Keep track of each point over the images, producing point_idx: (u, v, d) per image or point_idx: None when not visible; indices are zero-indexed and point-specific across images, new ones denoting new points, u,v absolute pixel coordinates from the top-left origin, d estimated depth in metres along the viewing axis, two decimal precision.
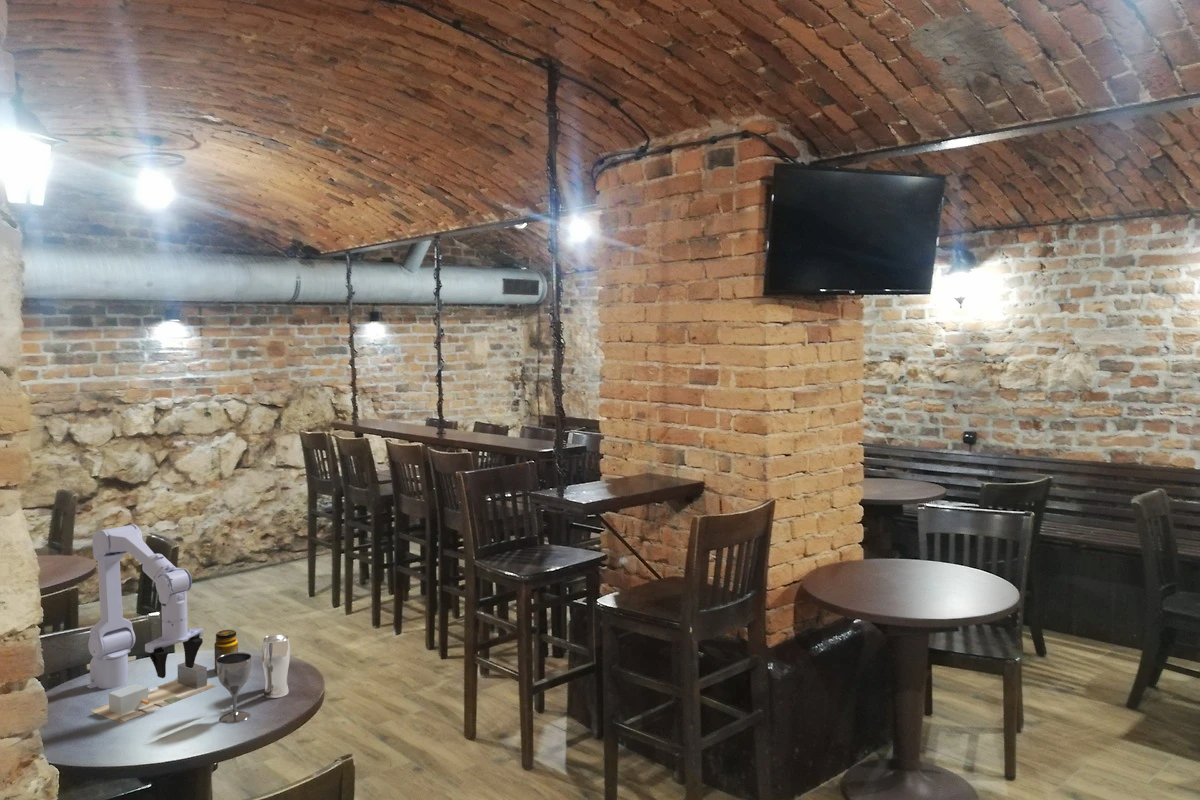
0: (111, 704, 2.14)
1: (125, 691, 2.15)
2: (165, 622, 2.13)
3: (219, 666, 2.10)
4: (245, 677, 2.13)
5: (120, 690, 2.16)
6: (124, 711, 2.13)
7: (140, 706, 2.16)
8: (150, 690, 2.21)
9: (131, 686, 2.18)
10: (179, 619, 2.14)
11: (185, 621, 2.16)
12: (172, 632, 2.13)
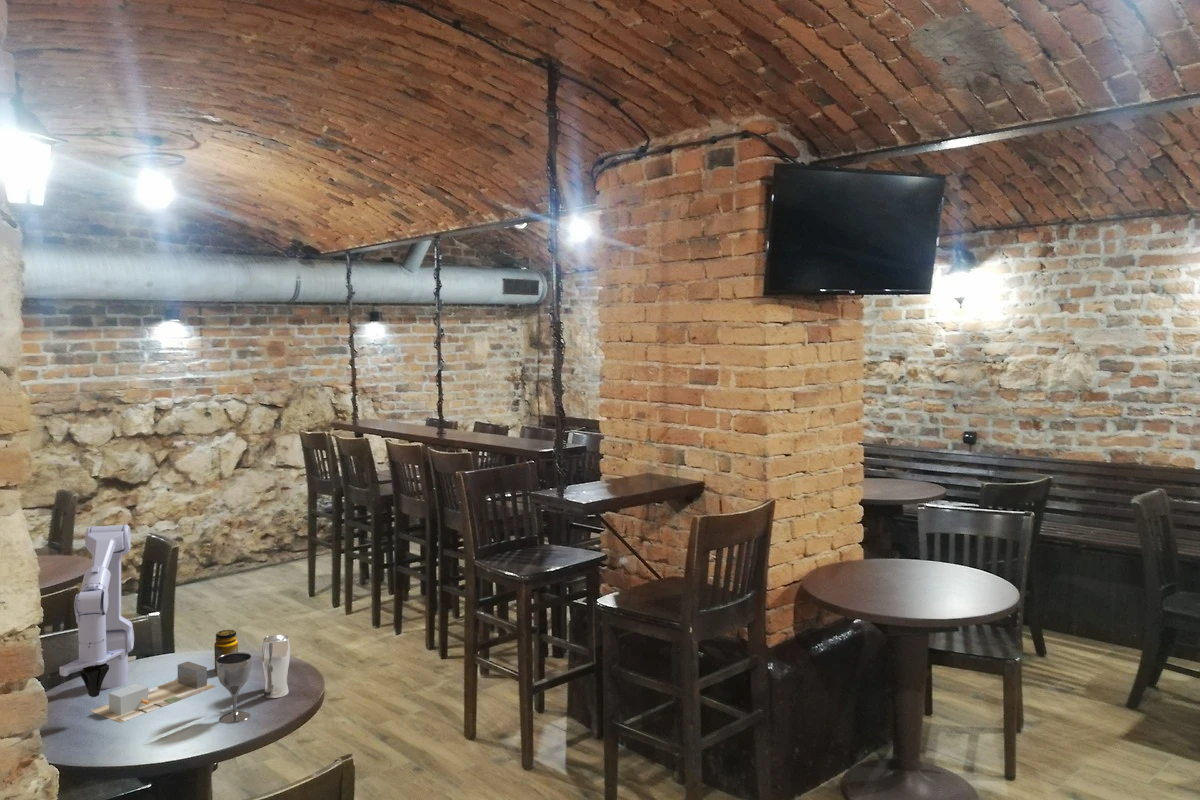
0: (111, 704, 2.14)
1: (125, 691, 2.15)
2: (81, 644, 2.05)
3: (219, 666, 2.10)
4: (245, 677, 2.13)
5: (120, 690, 2.16)
6: (124, 711, 2.13)
7: (140, 706, 2.16)
8: (150, 690, 2.21)
9: (131, 686, 2.18)
10: (87, 642, 2.05)
11: (103, 643, 2.08)
12: (89, 655, 2.05)
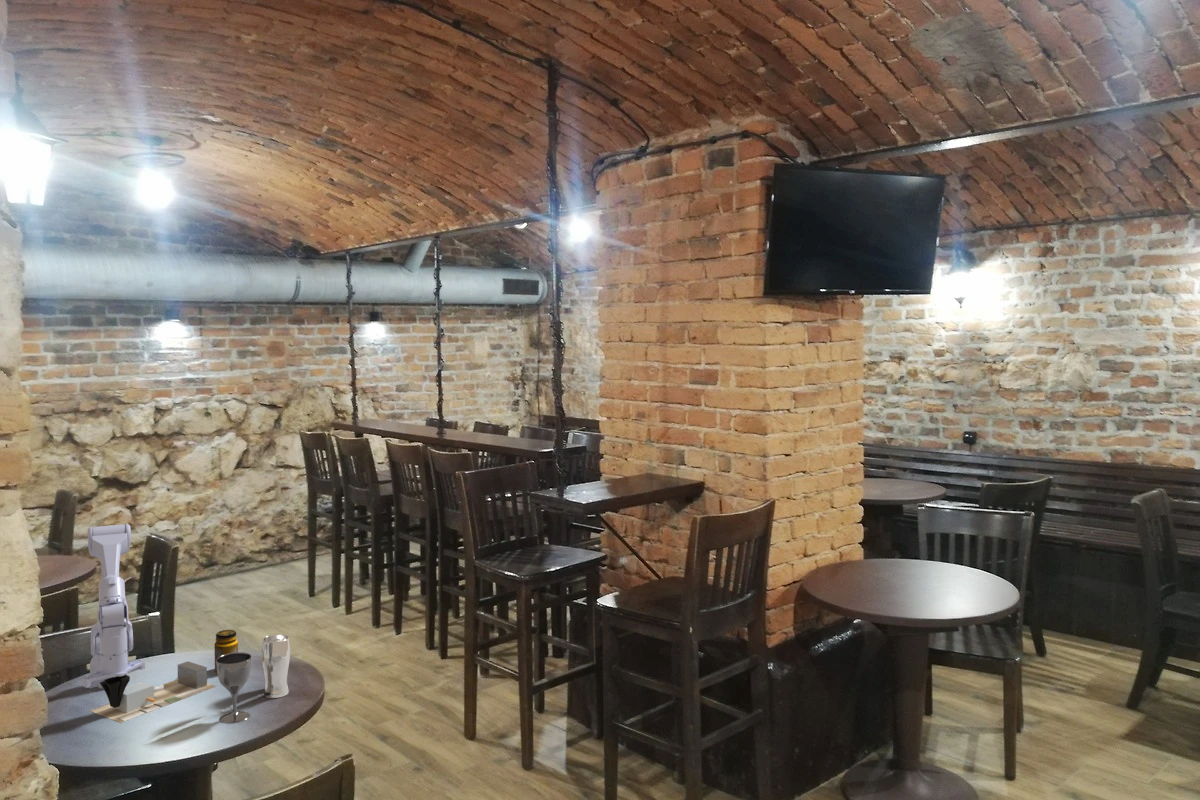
0: None
1: (131, 689, 2.17)
2: (103, 656, 2.10)
3: (219, 666, 2.10)
4: (245, 677, 2.13)
5: (126, 688, 2.17)
6: (130, 709, 2.14)
7: (146, 704, 2.18)
8: (156, 688, 2.22)
9: (137, 684, 2.20)
10: (111, 654, 2.10)
11: (124, 654, 2.12)
12: (110, 666, 2.10)
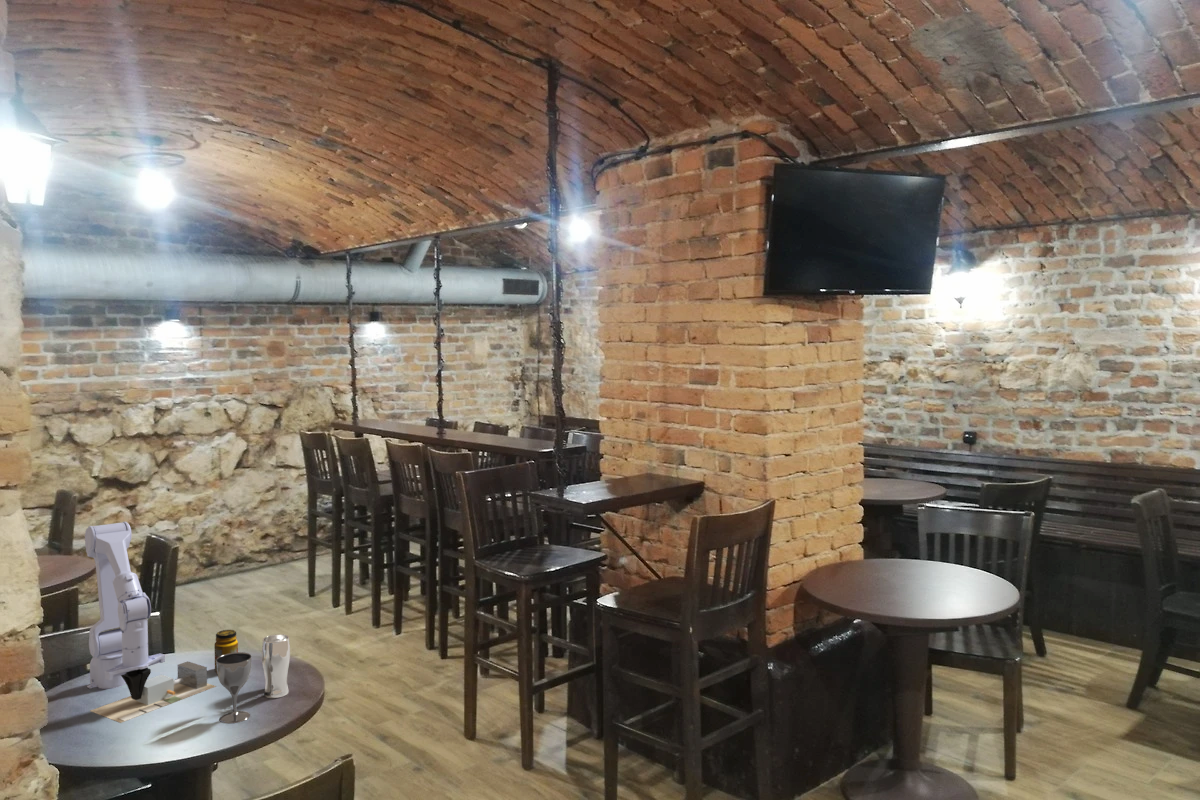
0: None
1: (151, 681, 2.21)
2: (125, 649, 2.14)
3: (219, 666, 2.10)
4: (245, 677, 2.13)
5: (147, 681, 2.22)
6: (151, 701, 2.19)
7: (166, 696, 2.22)
8: (175, 681, 2.27)
9: (157, 677, 2.24)
10: (136, 647, 2.15)
11: (145, 648, 2.17)
12: (132, 659, 2.15)
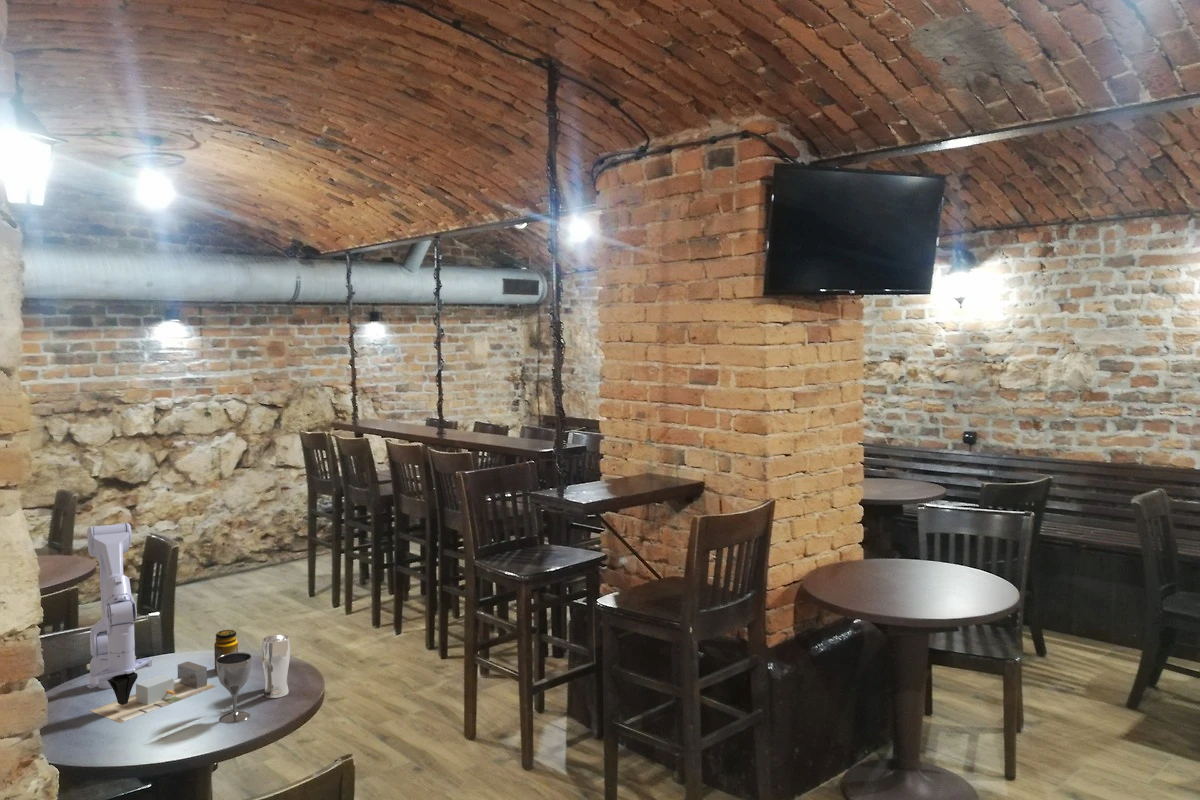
0: (138, 694, 2.20)
1: (151, 681, 2.21)
2: (111, 653, 2.11)
3: (219, 666, 2.10)
4: (245, 677, 2.13)
5: (147, 681, 2.22)
6: (151, 701, 2.19)
7: (166, 696, 2.22)
8: (175, 681, 2.27)
9: (157, 677, 2.24)
10: (120, 651, 2.11)
11: (132, 652, 2.14)
12: (118, 664, 2.12)
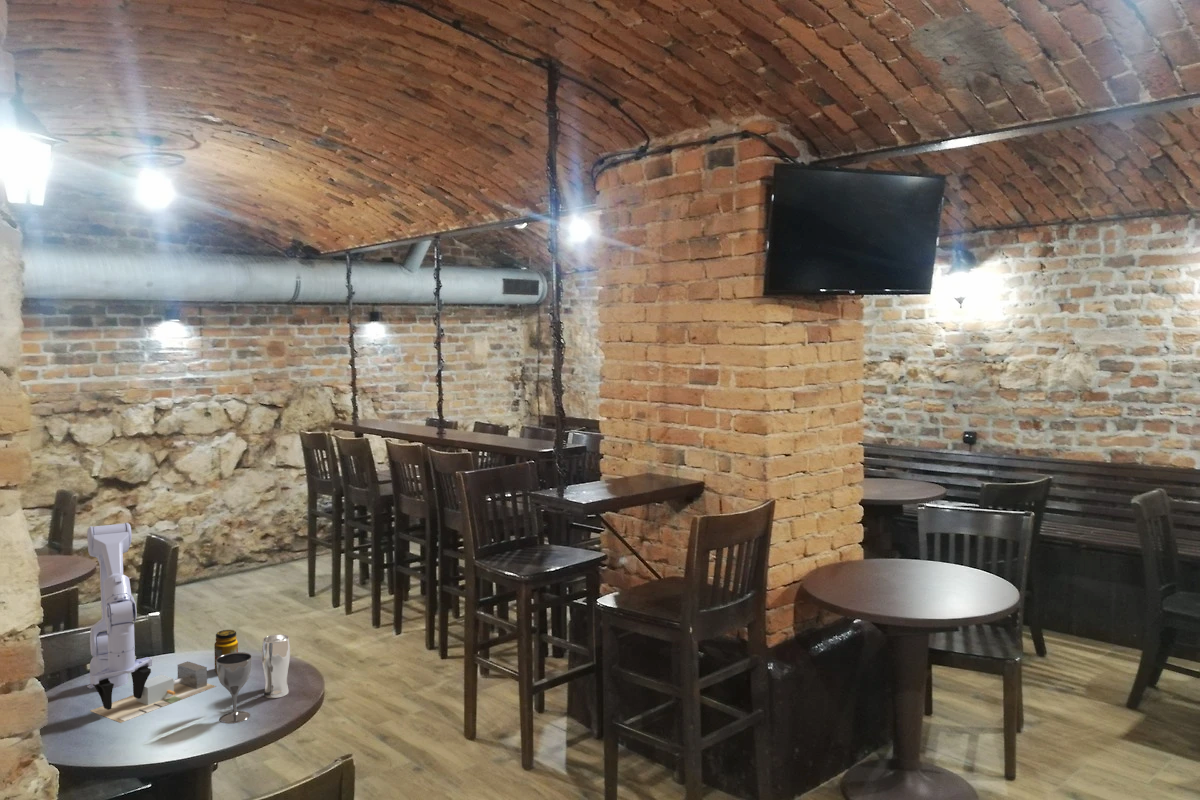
0: None
1: (151, 681, 2.21)
2: (111, 653, 2.11)
3: (219, 666, 2.10)
4: (245, 677, 2.13)
5: (147, 681, 2.22)
6: (151, 701, 2.19)
7: (166, 696, 2.22)
8: (175, 681, 2.27)
9: (157, 677, 2.24)
10: (120, 651, 2.11)
11: (132, 652, 2.14)
12: (118, 663, 2.12)
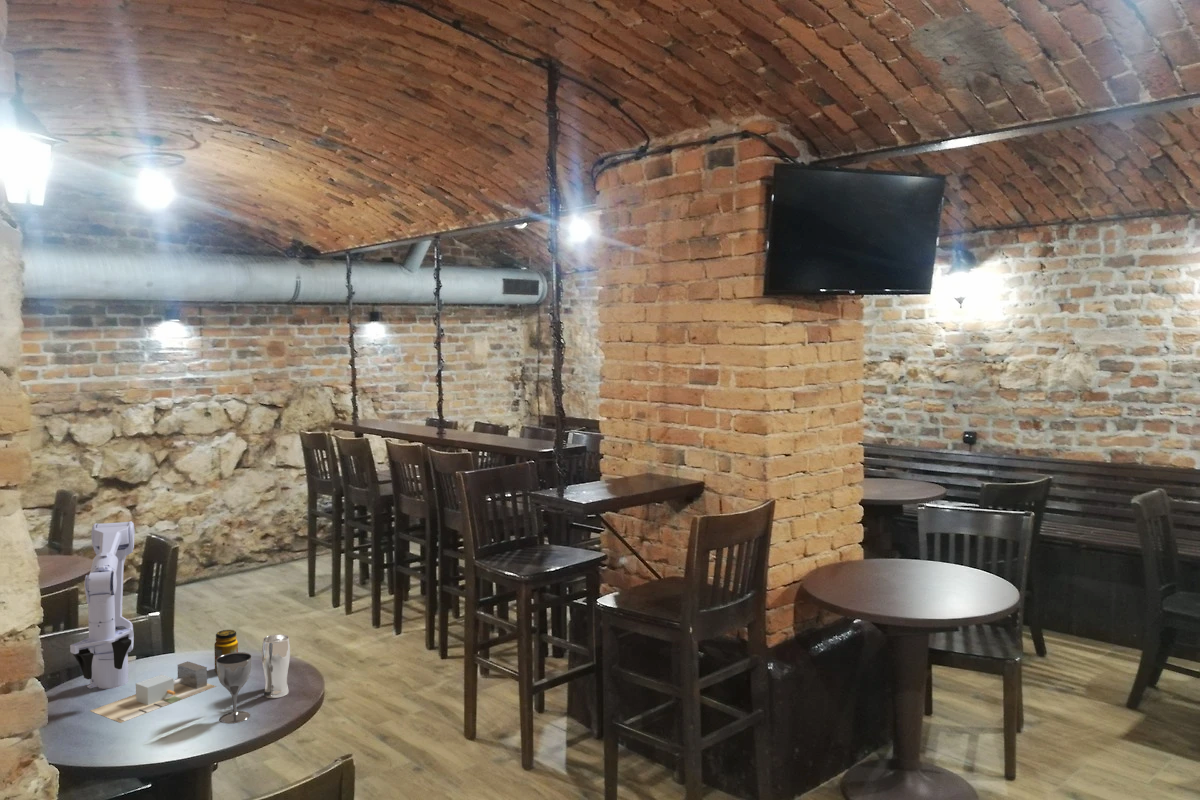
0: (138, 694, 2.20)
1: (151, 681, 2.21)
2: (91, 623, 2.12)
3: (219, 666, 2.10)
4: (245, 677, 2.13)
5: (147, 681, 2.22)
6: (151, 701, 2.19)
7: (166, 696, 2.22)
8: (175, 681, 2.27)
9: (157, 677, 2.24)
10: (97, 621, 2.12)
11: (112, 622, 2.15)
12: (98, 633, 2.13)
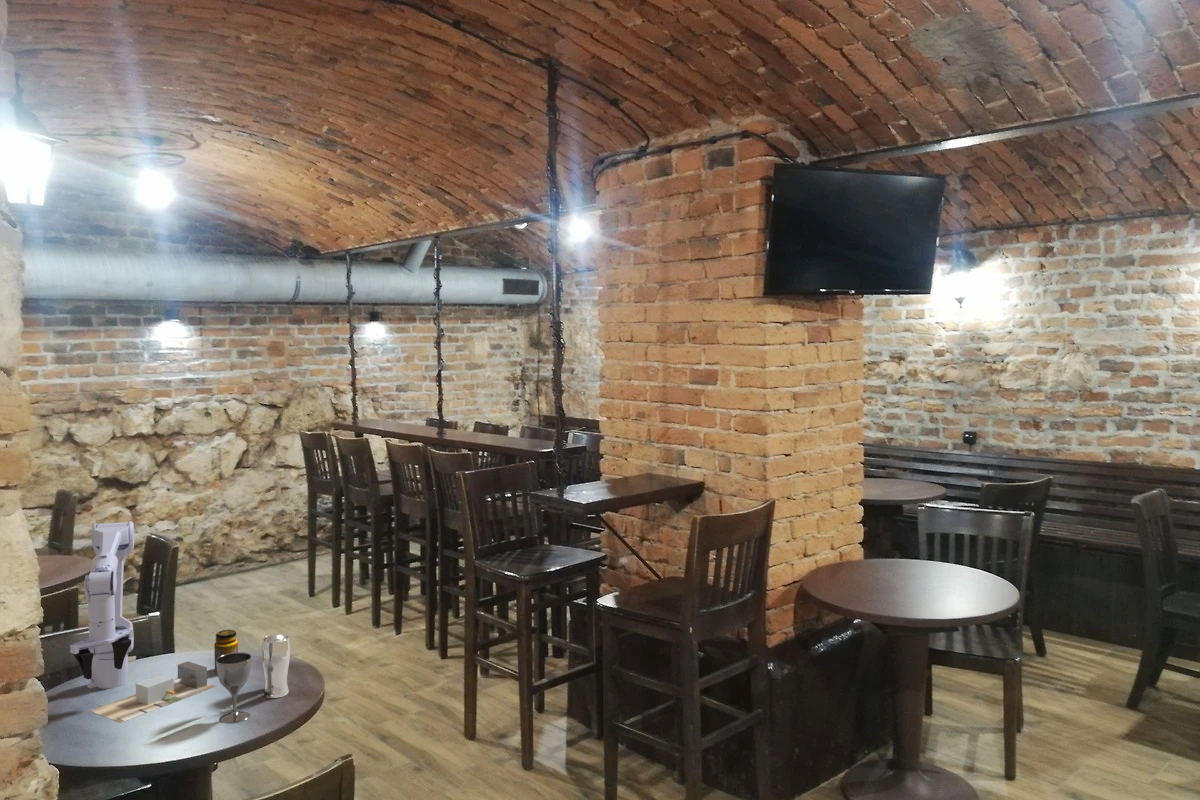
0: (138, 694, 2.20)
1: (151, 681, 2.21)
2: (91, 623, 2.12)
3: (219, 666, 2.10)
4: (245, 677, 2.13)
5: (147, 681, 2.22)
6: (151, 701, 2.19)
7: (166, 696, 2.22)
8: (175, 681, 2.27)
9: (157, 677, 2.24)
10: (97, 621, 2.12)
11: (112, 622, 2.15)
12: (98, 633, 2.13)
